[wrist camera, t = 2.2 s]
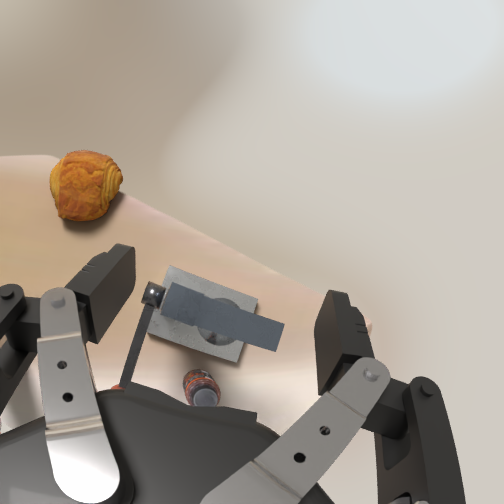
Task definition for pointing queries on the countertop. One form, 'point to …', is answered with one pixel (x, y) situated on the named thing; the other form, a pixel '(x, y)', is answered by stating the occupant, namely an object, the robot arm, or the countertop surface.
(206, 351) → the press
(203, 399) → the supplement bottle
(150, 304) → the lever
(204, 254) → the countertop surface
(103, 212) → the croissant
